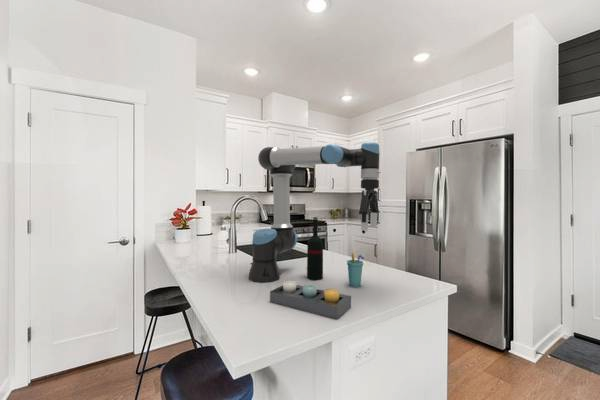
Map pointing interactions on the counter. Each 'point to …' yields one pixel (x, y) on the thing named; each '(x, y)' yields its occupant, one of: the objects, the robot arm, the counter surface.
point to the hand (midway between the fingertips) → (369, 228)
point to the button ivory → (289, 286)
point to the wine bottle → (315, 254)
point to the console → (311, 302)
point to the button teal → (310, 291)
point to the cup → (355, 271)
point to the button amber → (331, 295)
